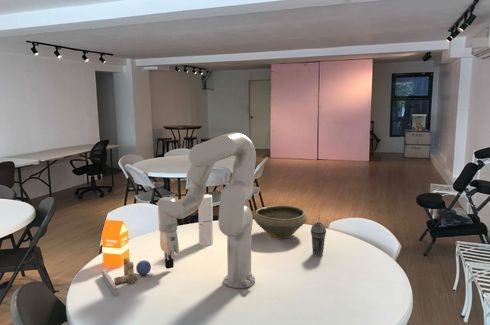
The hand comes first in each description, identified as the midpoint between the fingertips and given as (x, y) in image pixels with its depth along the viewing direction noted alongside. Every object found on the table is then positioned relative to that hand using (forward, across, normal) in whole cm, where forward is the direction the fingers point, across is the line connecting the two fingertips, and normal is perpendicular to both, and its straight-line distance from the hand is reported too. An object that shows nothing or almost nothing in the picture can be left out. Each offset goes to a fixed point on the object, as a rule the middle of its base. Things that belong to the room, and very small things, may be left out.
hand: (169, 267), depth 167 cm
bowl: (+2, +10, -67) cm, 68 cm away
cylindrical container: (+2, +21, -28) cm, 35 cm away
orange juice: (+2, +21, +17) cm, 27 cm away
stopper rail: (+2, 0, +25) cm, 25 cm away
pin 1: (+2, +2, +17) cm, 18 cm away
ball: (-2, +3, +10) cm, 11 cm away
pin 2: (+2, -2, +17) cm, 18 cm away
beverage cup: (+2, -21, -66) cm, 69 cm away
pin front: (0, 0, +14) cm, 14 cm away
